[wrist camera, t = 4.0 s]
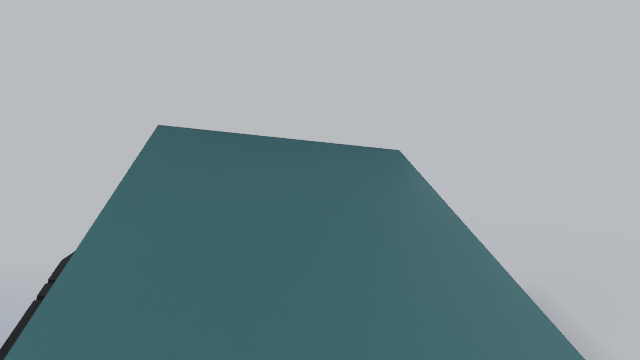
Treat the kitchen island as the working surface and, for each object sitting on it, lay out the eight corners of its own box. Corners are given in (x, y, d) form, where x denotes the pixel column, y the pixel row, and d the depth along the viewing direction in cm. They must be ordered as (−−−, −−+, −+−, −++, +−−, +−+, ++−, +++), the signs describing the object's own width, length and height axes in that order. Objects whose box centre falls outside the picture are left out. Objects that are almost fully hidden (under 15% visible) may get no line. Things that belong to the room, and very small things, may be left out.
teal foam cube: (158, 125, 9) (-45, 432, 3) (399, 150, 10) (622, 401, 4) (159, 318, 11) (52, 706, 5) (353, 319, 12) (449, 635, 6)
